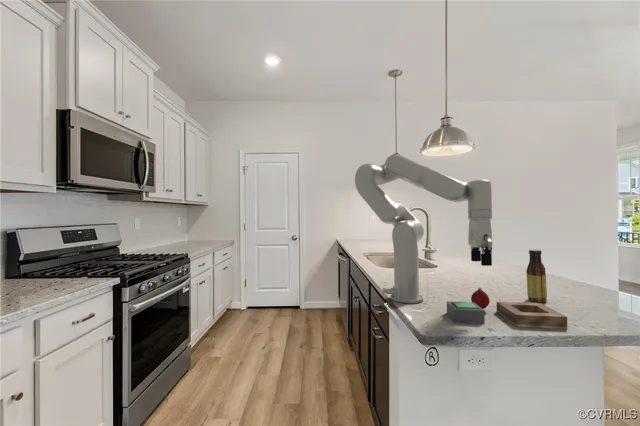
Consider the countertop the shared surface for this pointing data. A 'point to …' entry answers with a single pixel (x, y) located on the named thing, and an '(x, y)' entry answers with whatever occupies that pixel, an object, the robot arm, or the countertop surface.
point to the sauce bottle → (536, 278)
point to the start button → (464, 305)
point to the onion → (480, 298)
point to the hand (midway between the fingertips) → (481, 263)
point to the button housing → (466, 314)
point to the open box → (531, 315)
